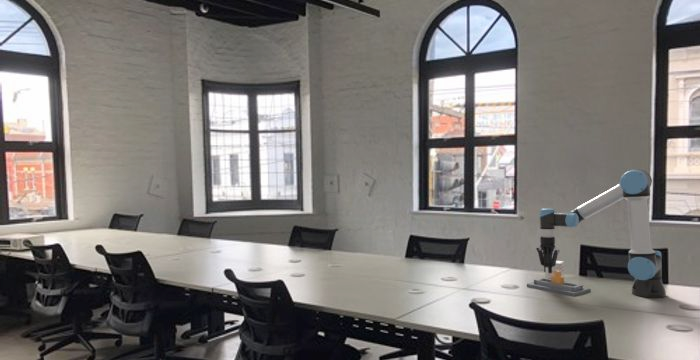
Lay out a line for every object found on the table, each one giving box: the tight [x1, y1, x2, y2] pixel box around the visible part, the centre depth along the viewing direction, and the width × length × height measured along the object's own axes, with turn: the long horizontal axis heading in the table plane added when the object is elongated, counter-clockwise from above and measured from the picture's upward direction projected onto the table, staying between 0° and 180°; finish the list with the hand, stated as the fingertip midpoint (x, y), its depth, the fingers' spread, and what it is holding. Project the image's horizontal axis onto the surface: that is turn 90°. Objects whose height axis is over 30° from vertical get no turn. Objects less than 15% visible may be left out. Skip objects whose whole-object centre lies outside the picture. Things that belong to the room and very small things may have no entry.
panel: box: [526, 277, 592, 297], centre depth 270 cm, size 28×16×4 cm, turn 36°
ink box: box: [544, 260, 565, 279], centre depth 288 cm, size 9×8×13 cm
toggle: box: [552, 270, 565, 285], centre depth 270 cm, size 5×4×8 cm
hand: (548, 278), depth 275 cm, fingers closed
